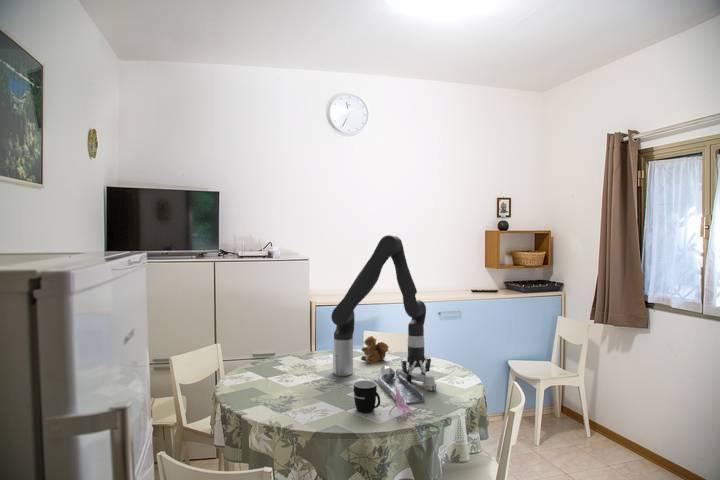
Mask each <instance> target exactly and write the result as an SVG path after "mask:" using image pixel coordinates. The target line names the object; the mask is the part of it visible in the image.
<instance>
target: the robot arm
mask: <svg viewBox="0 0 720 480" xmlns="http://www.w3.org/2000/svg"><path fill="white" fill-rule="evenodd" d="M389 258H391V260H392V263H393V265H394V268H395V269H394V271H395V276H396V281H397V285H398V288H399V290H400V292H401V295H402V303H403V307H404V311H405V313H406V314H407V316H408V317H409V318H411V321H410V322H409V323H408V325H407V326H408V327H407V331H408V332H407V334H408V335H407V358H406V359H401V360H400V362H401V369H403V372H404V373H405V374H407V379H406V380H407V381H408V382H409V383H410V384H412V380H411V373H412V372H414V369H415V368H419V369H420V371H421V372H420V374H423V375H426V373H427V372H430V370H431V362H432V359H431V358H430V357H428V356H427V357H425V337H424V336H425V329H424V325H425V321H426V316H427V306H426V304H425V302H424V301H422V300H419V299H417V297H416V295H417V294H418V290H417V288H416V285H415V282H414V279H413V277H412V275H411V271H410V269H409V265H408V263H407V258H406V255H405V249H404V245H403V241H402V239H401V238H400V237H399V236H397V235H392V234H387V235H383V236H382V237H381V238H380V240H379V241H378V243H377V245H376V247H375V249H374V251H373V253H372V255H371V256H370V257H369V259H368V261H367V262H366V263H365V265H364V266H363V267H362V269H360V271H359V273H358V275H357V276H356V278H355V279H354V281H353V282H352V284H351V286H350V287H349V288H348V291H347V292H346V294H345V295H344V297H343V298H342V299H341V301H340V302H338V304H337V305H336V307H335V308H334V309H333V310H332V312H331V321H332V323H333V324H334V325H336V329H335V331H334V333H333V353H332V373H333V374H334V376H339V377H345V376H351V375H353V374H354V373H353V372H354V346H353V345H354V343H353V341H354V340H353V339H354V336H353V335H354V332H355V309H356V307H357V306H358V305H359V303H361V302H362V301H363V300H364V299H365V297H367V295H369V293H371V292H372V290H373V289H374V287H375V285H376V284H377V282H378V281H379V278H380V276H381V272H382V269H383V267H384V265H385V264H386V262H387V261H388V259H389ZM424 362H425V366H424ZM407 365H408V366H407Z"/></svg>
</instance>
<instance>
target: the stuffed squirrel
mask: <svg viewBox="0 0 720 480" xmlns="http://www.w3.org/2000/svg"><path fill="white" fill-rule="evenodd" d="M377 340H378V339H377V338H375V337H374V336H373V335H371V336H368V337H367V338H366V339H365V340H364V345H365V346H364V347H362V348H361V352H363V353H364V355H362V356H361V357H360V358H361V360H363V361H364V360H366V362H367V364H376V363H377V362H380V361H381V362H382V361H383V360H385V358H386V354H387V352H388V351H389V346H388V345H387V343H386V342H383V341H381V342H377Z"/></svg>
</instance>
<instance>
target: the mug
mask: <svg viewBox="0 0 720 480" xmlns="http://www.w3.org/2000/svg"><path fill="white" fill-rule="evenodd" d="M377 384H378V383H377V382H376V381H373V380H365V379H364V380H358V381H355V382H354V383H353V397H354V399H353V400H354V404H355V405H354V406H355V409H356V410H357V412H358V413H362V414H370V413H372V412H373V411H374V410H375V409H377V408H378V407H379V406H380V405H381V398H380V395H379V393H378V391H377V390H378V389H377V387H378V386H377ZM376 401H377V404H376Z"/></svg>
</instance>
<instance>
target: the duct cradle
mask: <svg viewBox="0 0 720 480" xmlns="http://www.w3.org/2000/svg"><path fill="white" fill-rule="evenodd" d="M379 371H380V372H379V373H380V376H378V377H377V378H374V382H375V383H376V384H378V385H379V387H380V388H382V389H383V391H384V392H386V394H387V395H388V396H389V397H391V399H392V400H393V401H394V402H395V403H396V400H395V399H394V398H393V396H392V395H391V394H390V393H393V394H395V395H396V390H395V386H396V387H397V389H398V390H399V392H400V395H401V396H403V397H404V401H405V403H406V404H407V405H413V404H422V403H425V399H426V398H425V395H424V394H423V393H422V391H420V390H418V389H417V387H415V386H414V385H412V383H409V382H408V381H407V379H405V378H403V377H402V376H401V375H399V377H398V376H396V371H395V370H394V369H393V368H392V367H391V366H390V365H383V366H382V367H380V370H379Z"/></svg>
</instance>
